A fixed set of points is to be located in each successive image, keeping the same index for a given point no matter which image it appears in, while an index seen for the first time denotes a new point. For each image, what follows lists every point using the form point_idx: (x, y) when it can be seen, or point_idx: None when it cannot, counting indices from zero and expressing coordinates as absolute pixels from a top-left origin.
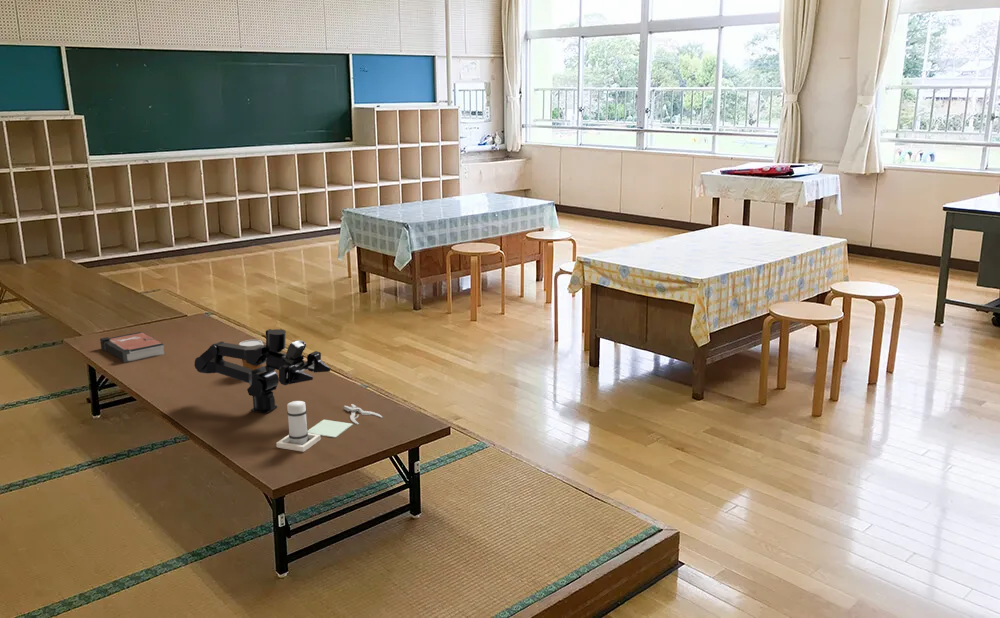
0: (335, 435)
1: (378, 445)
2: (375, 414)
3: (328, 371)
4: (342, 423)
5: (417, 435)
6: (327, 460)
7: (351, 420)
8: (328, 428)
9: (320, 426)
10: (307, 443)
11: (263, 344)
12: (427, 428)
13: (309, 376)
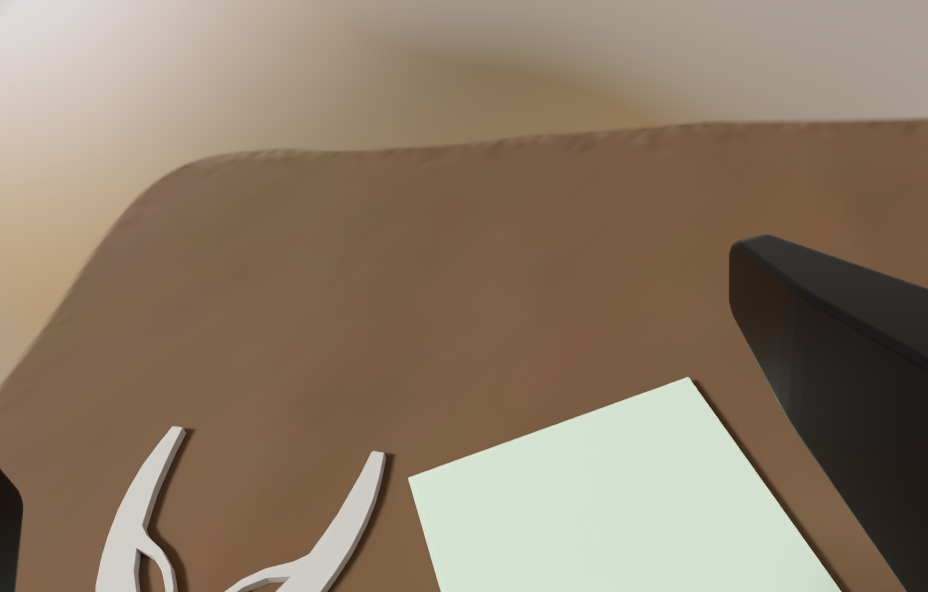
0: (672, 396)
1: (551, 172)
2: (148, 496)
3: (18, 539)
4: (456, 552)
5: (328, 159)
6: (924, 177)
7: (346, 559)
8: (630, 553)
9: None
10: None
11: None
12: (226, 185)
13: (823, 264)
